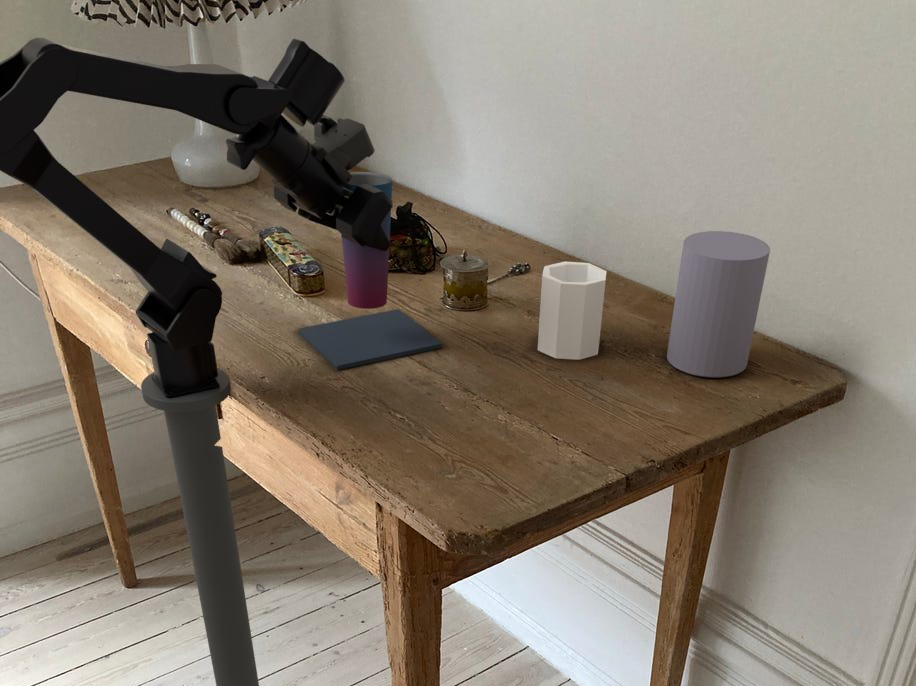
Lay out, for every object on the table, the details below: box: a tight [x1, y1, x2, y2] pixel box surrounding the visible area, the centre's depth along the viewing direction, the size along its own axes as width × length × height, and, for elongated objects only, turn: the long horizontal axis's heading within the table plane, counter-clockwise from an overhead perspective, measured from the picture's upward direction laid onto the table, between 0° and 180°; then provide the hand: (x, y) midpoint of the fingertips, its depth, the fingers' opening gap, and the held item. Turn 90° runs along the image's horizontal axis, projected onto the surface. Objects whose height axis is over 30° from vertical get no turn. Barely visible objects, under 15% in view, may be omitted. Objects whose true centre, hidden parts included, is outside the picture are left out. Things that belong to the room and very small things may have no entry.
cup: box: [339, 171, 393, 310], centre depth 129 cm, size 7×7×15 cm
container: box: [666, 230, 771, 379], centre depth 129 cm, size 10×10×15 cm
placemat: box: [297, 308, 443, 371], centre depth 136 cm, size 15×13×1 cm
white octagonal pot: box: [537, 261, 607, 361], centre depth 135 cm, size 12×9×10 cm
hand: (373, 240), depth 129 cm, fingers closed on cup, 6 cm apart
